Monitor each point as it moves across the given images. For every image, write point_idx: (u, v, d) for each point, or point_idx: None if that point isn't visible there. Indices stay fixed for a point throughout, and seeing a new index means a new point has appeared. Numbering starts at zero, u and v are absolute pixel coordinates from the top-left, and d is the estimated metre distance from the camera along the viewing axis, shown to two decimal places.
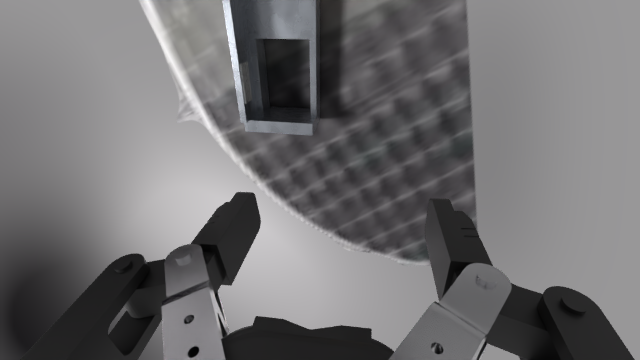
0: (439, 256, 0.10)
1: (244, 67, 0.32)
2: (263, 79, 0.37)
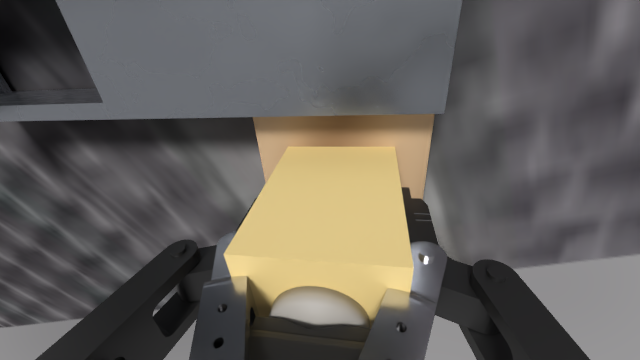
0: None
1: None
2: None
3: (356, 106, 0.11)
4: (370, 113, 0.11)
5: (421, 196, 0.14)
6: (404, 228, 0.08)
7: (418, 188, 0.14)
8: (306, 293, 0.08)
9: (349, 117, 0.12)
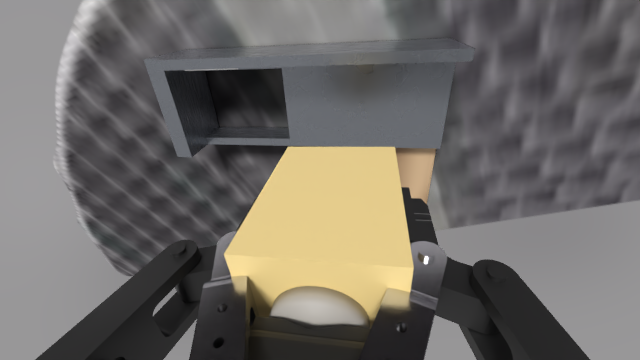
0: None
1: None
2: None
3: (404, 144, 0.26)
4: (410, 147, 0.26)
5: (429, 183, 0.29)
6: (403, 228, 0.08)
7: (427, 179, 0.29)
8: (306, 293, 0.08)
9: None
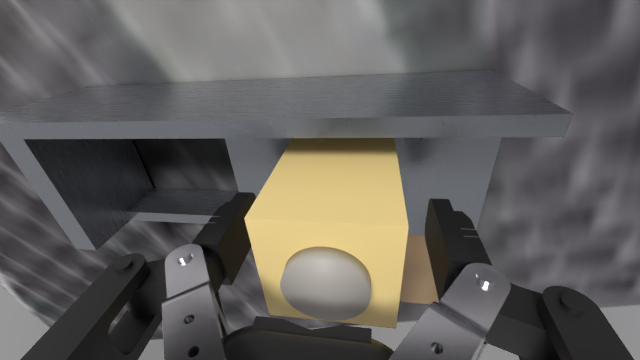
0: (439, 256, 0.10)
1: None
2: None
3: (418, 230, 0.17)
4: None
5: None
6: (400, 197, 0.09)
7: None
8: (316, 252, 0.09)
9: None
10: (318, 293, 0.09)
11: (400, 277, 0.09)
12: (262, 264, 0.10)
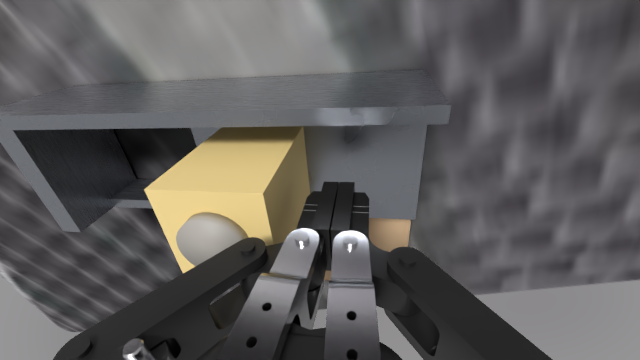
0: None
1: None
2: None
3: None
4: (374, 217, 0.19)
5: None
6: (272, 173, 0.12)
7: None
8: (200, 216, 0.11)
9: None
10: (206, 250, 0.12)
11: (270, 237, 0.12)
12: (167, 229, 0.12)
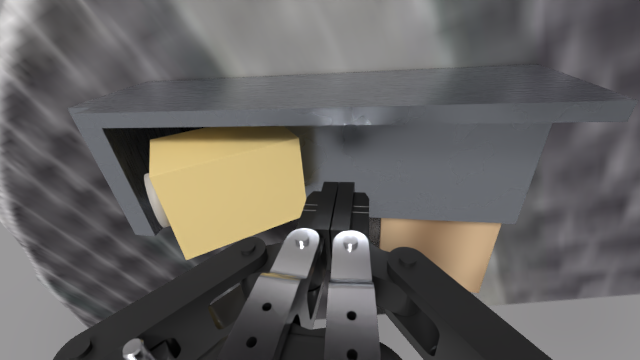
0: None
1: None
2: None
3: (461, 217, 0.18)
4: (470, 221, 0.18)
5: (488, 259, 0.21)
6: (184, 167, 0.13)
7: (486, 254, 0.21)
8: None
9: None
10: None
11: (166, 216, 0.13)
12: None
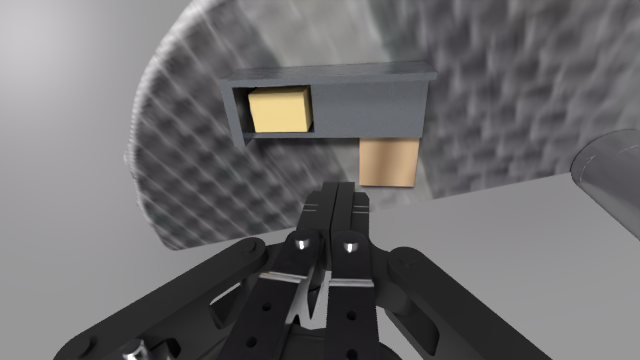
0: None
1: None
2: None
3: (396, 135, 0.37)
4: None
5: (416, 163, 0.40)
6: (259, 93, 0.35)
7: (414, 161, 0.40)
8: None
9: (392, 137, 0.39)
10: None
11: (251, 111, 0.36)
12: None
